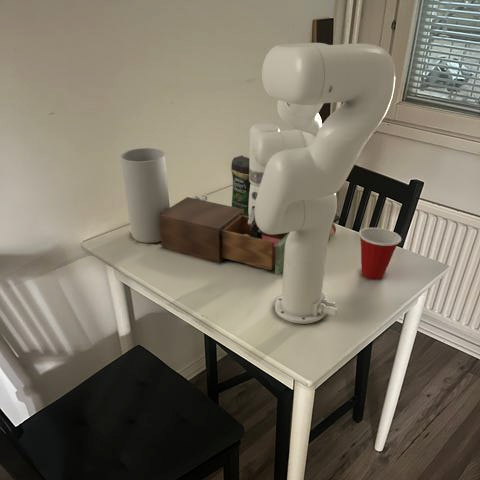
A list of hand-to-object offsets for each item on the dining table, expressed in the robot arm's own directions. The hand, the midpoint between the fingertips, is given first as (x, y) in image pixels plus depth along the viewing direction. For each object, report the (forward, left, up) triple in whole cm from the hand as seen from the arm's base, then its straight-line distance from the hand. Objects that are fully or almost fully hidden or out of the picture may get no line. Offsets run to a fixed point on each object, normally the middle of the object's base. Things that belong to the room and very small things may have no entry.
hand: (262, 238), depth 136 cm
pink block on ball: (+1, 0, -5) cm, 5 cm away
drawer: (-2, 0, -6) cm, 6 cm away
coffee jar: (+20, -27, -7) cm, 35 cm away
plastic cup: (-30, -7, -7) cm, 32 cm away
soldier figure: (+33, -20, -7) cm, 39 cm away
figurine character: (-9, -18, -7) cm, 22 cm away
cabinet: (+20, 0, -7) cm, 21 cm away
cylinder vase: (+38, +2, -7) cm, 38 cm away
